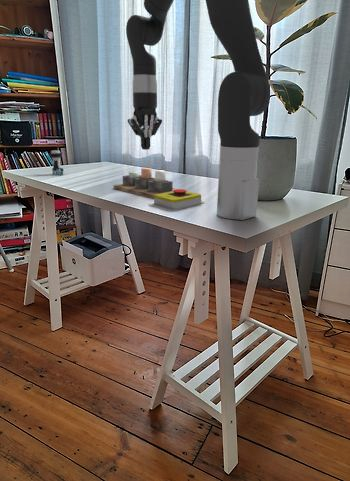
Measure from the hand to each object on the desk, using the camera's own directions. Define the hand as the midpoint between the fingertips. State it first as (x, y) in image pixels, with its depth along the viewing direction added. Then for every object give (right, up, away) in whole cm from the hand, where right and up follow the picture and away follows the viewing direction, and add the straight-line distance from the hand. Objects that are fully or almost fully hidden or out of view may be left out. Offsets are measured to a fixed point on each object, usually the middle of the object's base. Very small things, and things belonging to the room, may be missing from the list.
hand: (145, 149), depth 111 cm
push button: (-41, -2, +36) cm, 54 cm away
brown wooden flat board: (0, -13, +5) cm, 14 cm away
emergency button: (+10, -20, -12) cm, 26 cm away
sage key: (-5, -10, +9) cm, 14 cm away
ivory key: (+5, -11, -1) cm, 12 cm away
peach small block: (0, -10, +3) cm, 10 cm away
